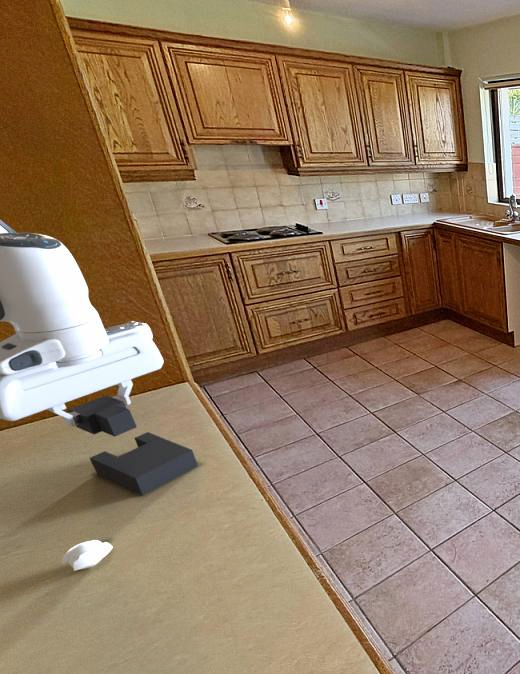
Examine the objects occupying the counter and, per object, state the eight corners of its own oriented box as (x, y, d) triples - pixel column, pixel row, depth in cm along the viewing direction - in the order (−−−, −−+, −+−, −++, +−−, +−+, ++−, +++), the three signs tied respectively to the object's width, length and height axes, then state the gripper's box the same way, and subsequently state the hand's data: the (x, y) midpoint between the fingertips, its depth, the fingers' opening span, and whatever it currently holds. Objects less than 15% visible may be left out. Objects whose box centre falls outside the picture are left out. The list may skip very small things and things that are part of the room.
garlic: (70, 584, 60) (119, 561, 64) (63, 564, 59) (113, 542, 62) (58, 563, 62) (106, 542, 66) (51, 545, 61) (100, 524, 65)
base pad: (97, 475, 78) (89, 457, 77) (154, 448, 85) (147, 431, 83) (142, 496, 74) (135, 478, 73) (198, 466, 81) (192, 449, 80)
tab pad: (76, 427, 78) (67, 409, 77) (113, 412, 82) (106, 395, 81) (107, 440, 75) (98, 421, 74) (144, 424, 80) (137, 406, 78)
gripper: (134, 314, 83) (160, 383, 89) (-44, 361, 66) (2, 442, 71) (157, 320, 81) (182, 390, 87) (-20, 370, 64) (25, 453, 69)
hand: (100, 414), depth 79 cm, fingers closed on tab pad, 5 cm apart
